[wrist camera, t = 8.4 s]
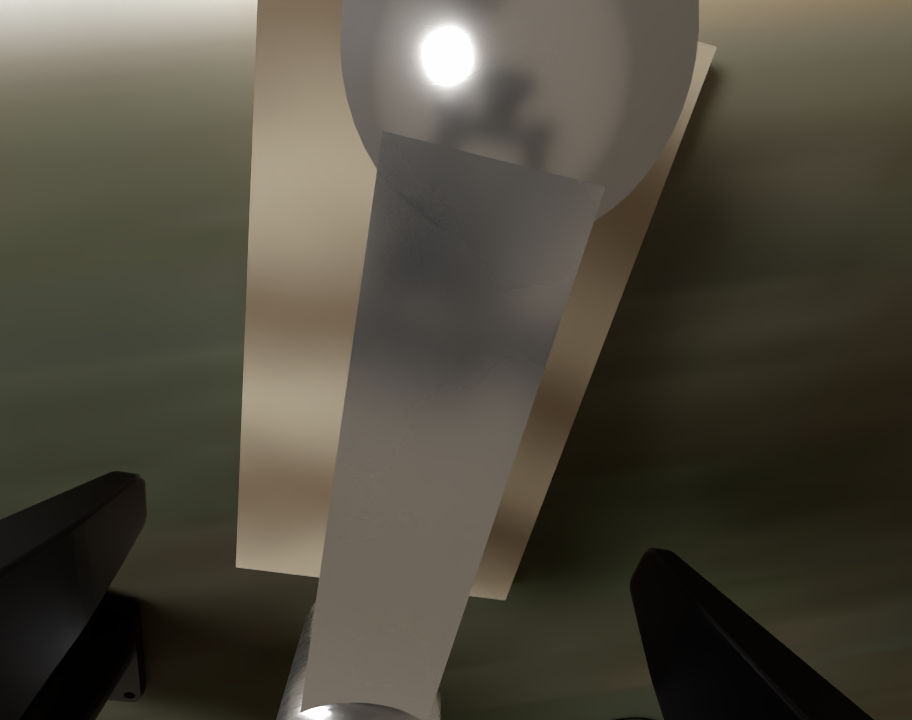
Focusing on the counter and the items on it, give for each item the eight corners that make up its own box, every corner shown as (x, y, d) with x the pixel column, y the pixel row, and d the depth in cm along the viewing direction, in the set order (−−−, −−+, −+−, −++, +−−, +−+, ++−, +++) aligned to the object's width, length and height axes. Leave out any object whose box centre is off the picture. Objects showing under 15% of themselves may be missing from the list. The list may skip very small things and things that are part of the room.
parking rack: (502, 580, 19) (522, 706, 15) (246, 547, 18) (181, 675, 13) (695, 56, 12) (859, -16, 7) (276, -70, 10) (151, -257, 6)
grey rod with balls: (426, 678, 14) (423, 802, 11) (299, 666, 14) (264, 792, 11) (638, -4, 7) (765, -113, 4) (396, -80, 7) (367, -257, 4)
